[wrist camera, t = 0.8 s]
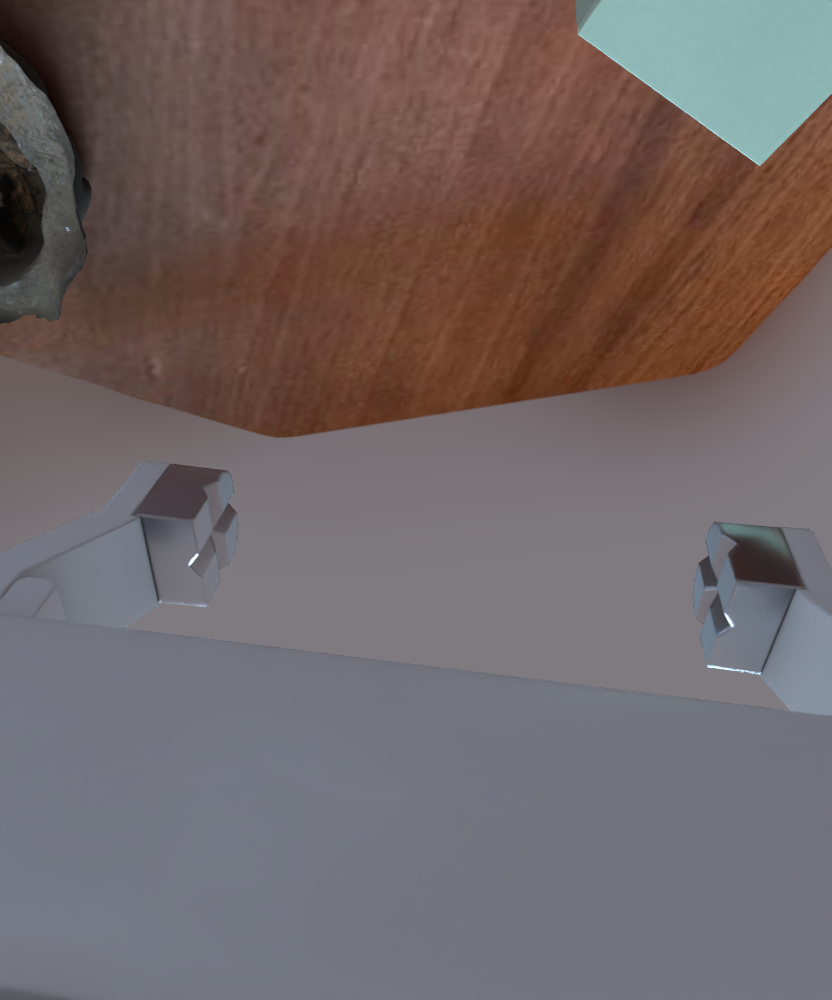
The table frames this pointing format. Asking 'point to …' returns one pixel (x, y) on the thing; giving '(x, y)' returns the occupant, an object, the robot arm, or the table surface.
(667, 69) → the lid
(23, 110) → the stone bowl
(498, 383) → the table surface
